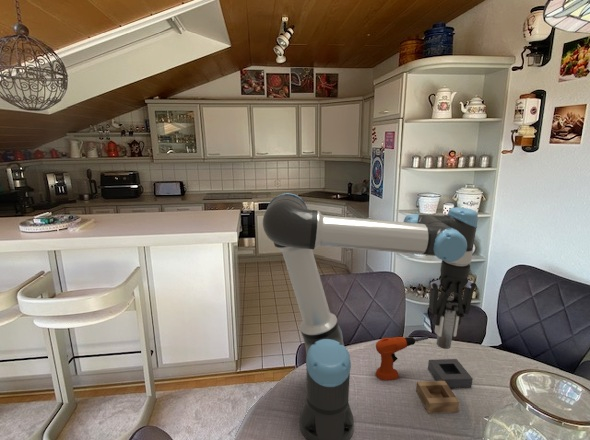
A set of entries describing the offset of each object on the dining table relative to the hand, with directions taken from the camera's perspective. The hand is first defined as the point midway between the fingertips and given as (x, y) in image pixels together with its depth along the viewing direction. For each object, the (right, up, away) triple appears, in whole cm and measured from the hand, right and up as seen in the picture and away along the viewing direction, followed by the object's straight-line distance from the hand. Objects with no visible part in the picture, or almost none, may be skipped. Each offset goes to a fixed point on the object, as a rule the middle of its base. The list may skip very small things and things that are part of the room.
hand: (445, 333), depth 103 cm
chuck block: (+6, -19, +11) cm, 23 cm away
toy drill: (-10, -18, +13) cm, 25 cm away
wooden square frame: (-2, -21, +1) cm, 21 cm away
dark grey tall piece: (0, -4, +1) cm, 4 cm away
